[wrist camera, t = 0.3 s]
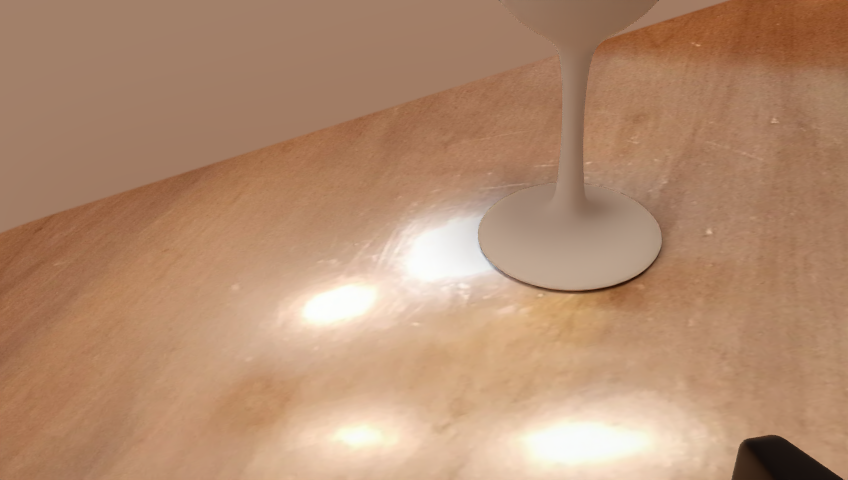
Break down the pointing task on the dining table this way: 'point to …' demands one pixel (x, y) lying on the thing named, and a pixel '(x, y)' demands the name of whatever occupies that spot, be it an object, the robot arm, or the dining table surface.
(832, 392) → the dining table surface
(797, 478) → the robot arm
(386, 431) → the dining table surface
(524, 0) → the wineglass
